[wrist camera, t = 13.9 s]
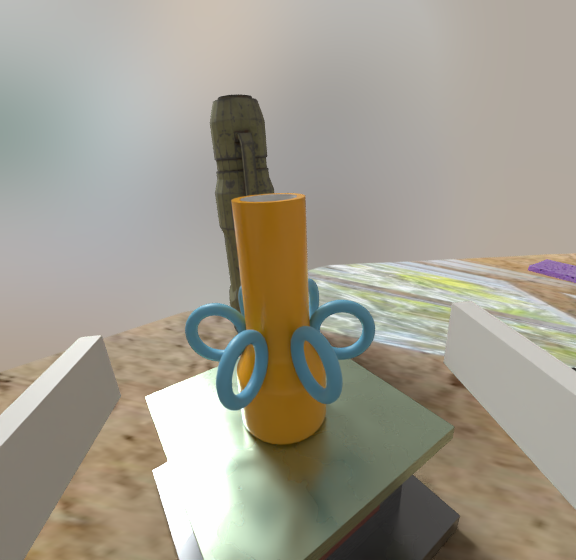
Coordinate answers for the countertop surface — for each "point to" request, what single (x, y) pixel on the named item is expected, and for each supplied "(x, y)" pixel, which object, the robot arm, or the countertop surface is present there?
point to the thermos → (237, 167)
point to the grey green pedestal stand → (301, 477)
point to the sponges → (555, 270)
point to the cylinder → (278, 326)
